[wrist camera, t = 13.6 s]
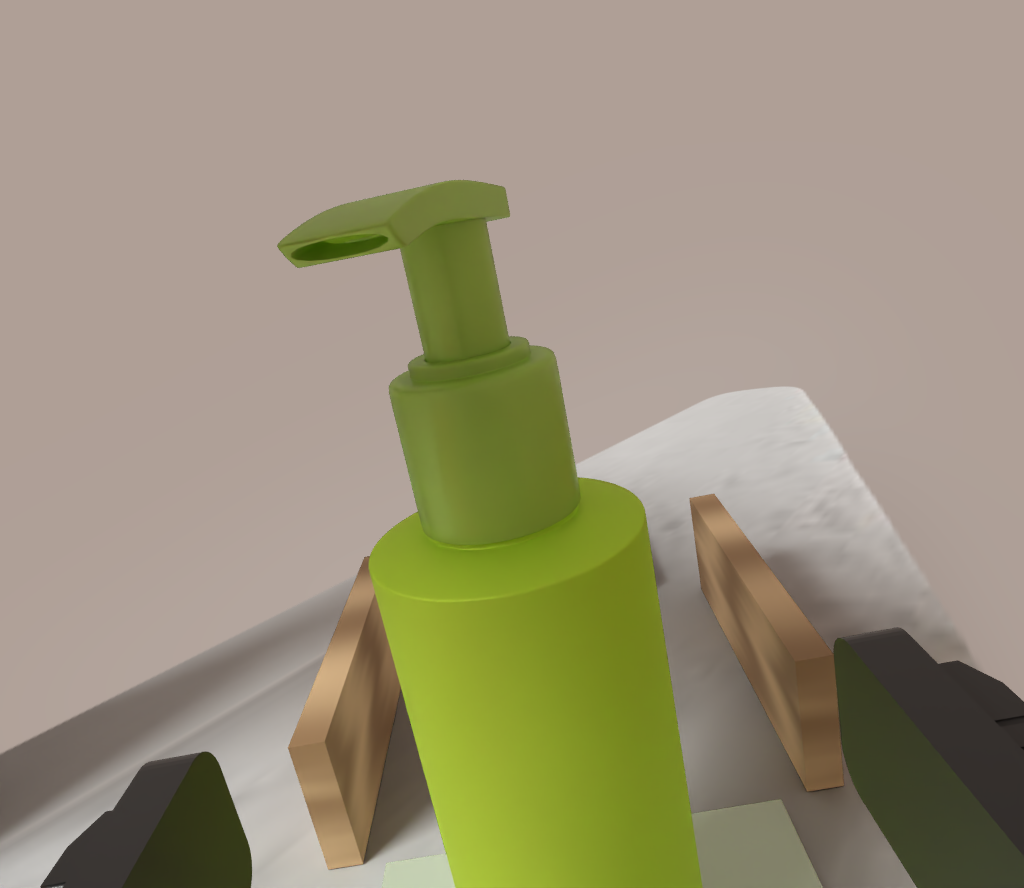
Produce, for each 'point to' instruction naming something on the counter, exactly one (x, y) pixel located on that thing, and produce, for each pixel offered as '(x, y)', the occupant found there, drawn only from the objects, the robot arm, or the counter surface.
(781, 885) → the mat
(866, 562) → the counter surface
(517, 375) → the soap dispenser
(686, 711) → the counter surface
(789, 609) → the oak channel
